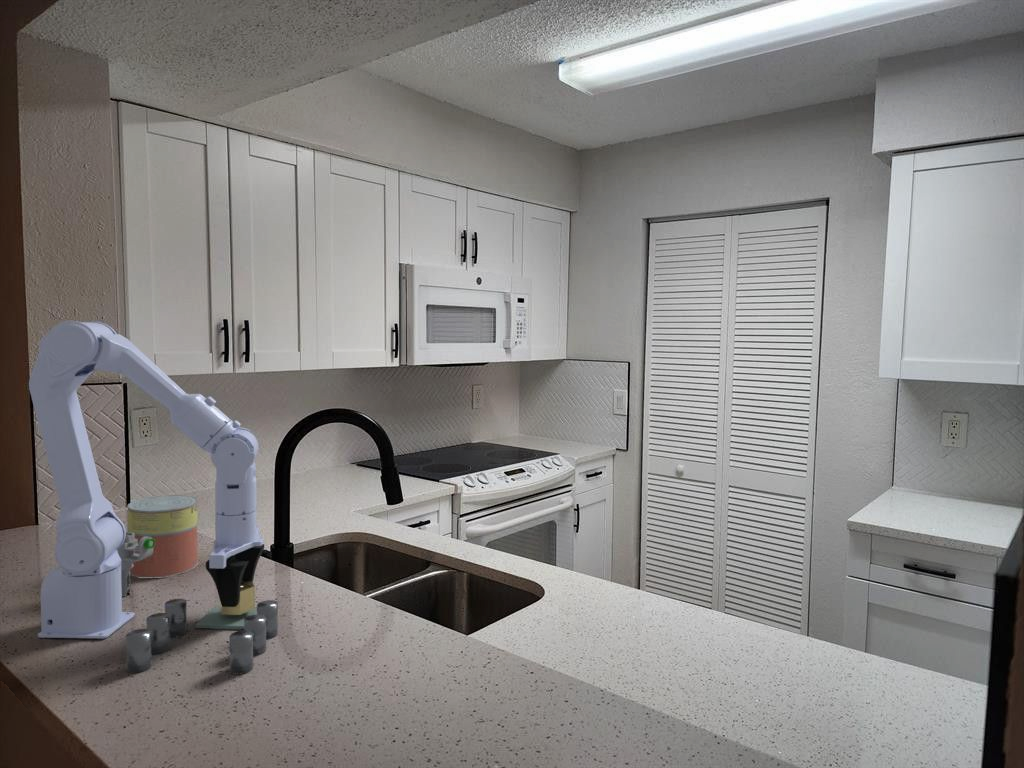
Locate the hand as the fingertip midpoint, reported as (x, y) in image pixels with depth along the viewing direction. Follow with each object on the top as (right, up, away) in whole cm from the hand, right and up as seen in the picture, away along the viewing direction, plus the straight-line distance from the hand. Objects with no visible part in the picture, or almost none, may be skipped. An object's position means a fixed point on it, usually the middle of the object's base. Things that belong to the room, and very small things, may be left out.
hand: (236, 599), depth 102 cm
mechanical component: (-21, -2, +8) cm, 23 cm away
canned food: (-22, -1, +21) cm, 30 cm away
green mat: (0, -3, 0) cm, 3 cm away
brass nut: (0, -2, 0) cm, 2 cm away
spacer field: (0, -4, -10) cm, 11 cm away
